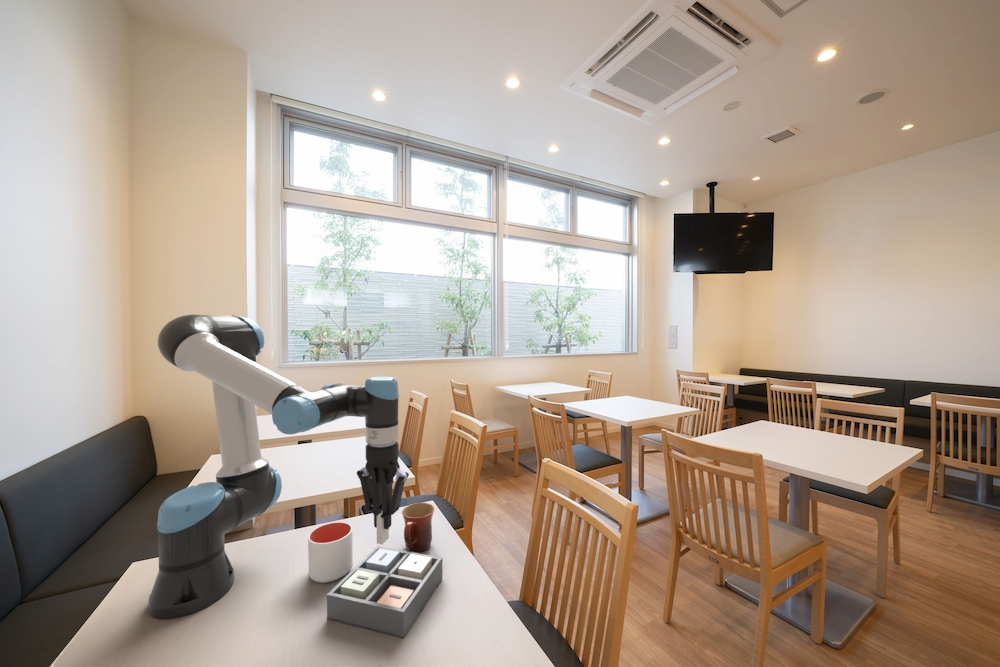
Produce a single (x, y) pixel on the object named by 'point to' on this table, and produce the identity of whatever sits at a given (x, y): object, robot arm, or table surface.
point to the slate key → (383, 560)
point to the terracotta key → (396, 596)
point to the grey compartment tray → (375, 613)
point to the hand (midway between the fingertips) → (382, 540)
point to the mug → (418, 526)
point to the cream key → (415, 567)
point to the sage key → (360, 584)
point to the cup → (330, 552)
